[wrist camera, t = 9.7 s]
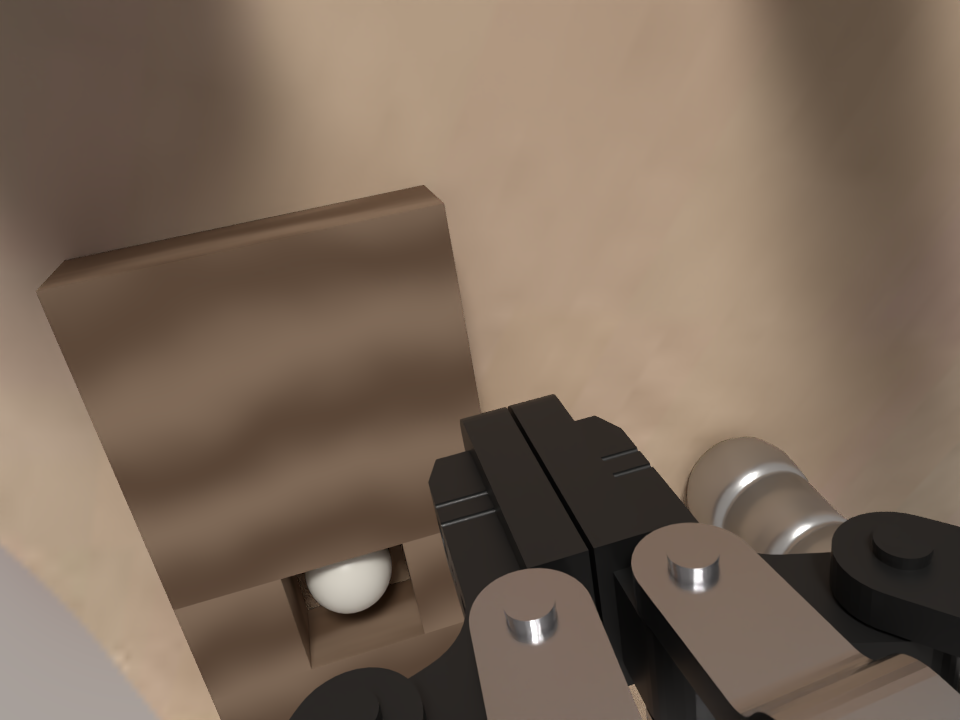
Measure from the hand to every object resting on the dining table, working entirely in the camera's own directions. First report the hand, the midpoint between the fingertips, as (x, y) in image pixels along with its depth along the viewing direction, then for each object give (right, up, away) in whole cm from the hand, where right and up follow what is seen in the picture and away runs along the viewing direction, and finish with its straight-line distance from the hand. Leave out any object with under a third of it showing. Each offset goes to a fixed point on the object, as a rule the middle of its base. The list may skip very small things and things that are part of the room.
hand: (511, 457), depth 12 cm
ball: (-7, -9, +28) cm, 30 cm away
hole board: (-9, -4, +27) cm, 29 cm away
